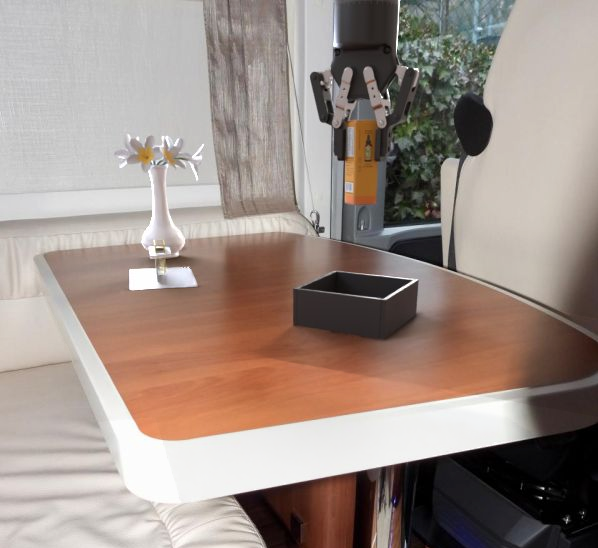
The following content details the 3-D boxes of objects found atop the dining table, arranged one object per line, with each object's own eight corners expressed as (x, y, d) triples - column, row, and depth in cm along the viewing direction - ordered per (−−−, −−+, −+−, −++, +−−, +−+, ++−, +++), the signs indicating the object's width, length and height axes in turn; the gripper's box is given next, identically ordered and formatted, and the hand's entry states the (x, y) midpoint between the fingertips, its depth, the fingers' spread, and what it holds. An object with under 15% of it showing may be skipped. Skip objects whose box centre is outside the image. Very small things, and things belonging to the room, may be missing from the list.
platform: (189, 266, 131) (187, 234, 128) (198, 286, 115) (195, 249, 112) (129, 269, 128) (126, 236, 126) (129, 290, 112) (125, 252, 110)
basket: (415, 324, 93) (418, 279, 90) (383, 350, 82) (385, 300, 80) (333, 313, 99) (334, 270, 96) (293, 335, 88) (292, 288, 85)
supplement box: (365, 202, 85) (370, 119, 81) (376, 205, 82) (381, 119, 78) (342, 202, 84) (345, 119, 80) (352, 206, 81) (356, 119, 77)
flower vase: (215, 258, 139) (209, 134, 129) (128, 264, 133) (115, 134, 123) (201, 248, 150) (195, 133, 140) (121, 253, 144) (108, 133, 134)
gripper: (436, 3, 74) (424, 161, 81) (324, 12, 80) (322, 158, 87) (416, -8, 68) (405, 164, 74) (297, 3, 74) (297, 161, 80)
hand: (361, 160), depth 80 cm, fingers closed on supplement box, 4 cm apart
